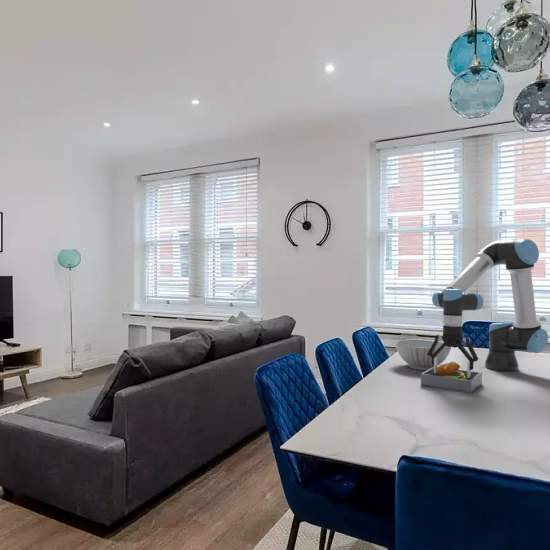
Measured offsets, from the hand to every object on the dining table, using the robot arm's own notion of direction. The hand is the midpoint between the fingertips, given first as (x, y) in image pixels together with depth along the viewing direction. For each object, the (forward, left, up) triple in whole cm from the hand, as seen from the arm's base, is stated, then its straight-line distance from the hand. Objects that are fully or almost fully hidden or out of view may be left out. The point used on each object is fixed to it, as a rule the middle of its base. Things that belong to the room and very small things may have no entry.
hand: (451, 375), depth 188 cm
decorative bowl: (-27, -21, -5) cm, 34 cm away
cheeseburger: (0, 0, -4) cm, 4 cm away
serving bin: (0, 0, -4) cm, 4 cm away
